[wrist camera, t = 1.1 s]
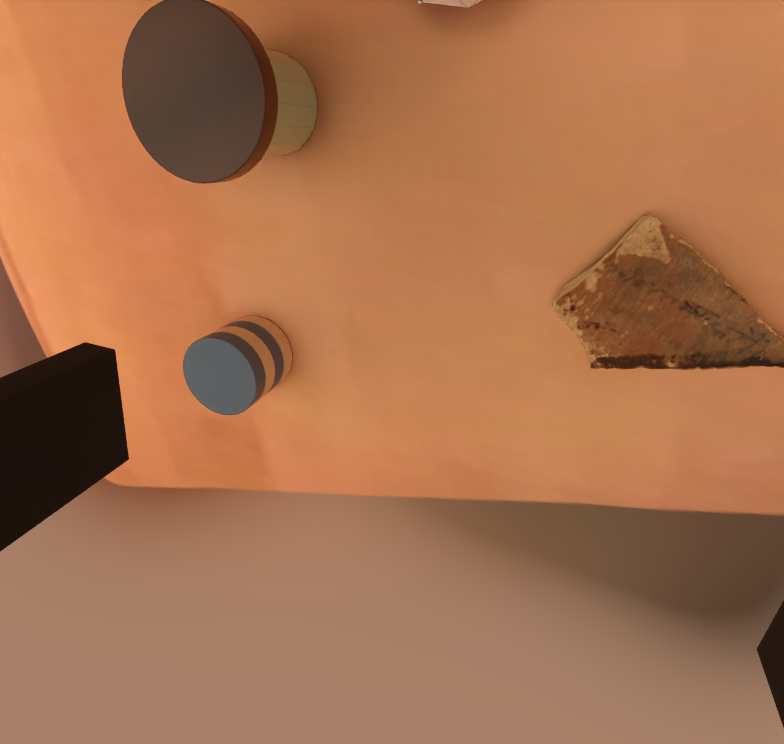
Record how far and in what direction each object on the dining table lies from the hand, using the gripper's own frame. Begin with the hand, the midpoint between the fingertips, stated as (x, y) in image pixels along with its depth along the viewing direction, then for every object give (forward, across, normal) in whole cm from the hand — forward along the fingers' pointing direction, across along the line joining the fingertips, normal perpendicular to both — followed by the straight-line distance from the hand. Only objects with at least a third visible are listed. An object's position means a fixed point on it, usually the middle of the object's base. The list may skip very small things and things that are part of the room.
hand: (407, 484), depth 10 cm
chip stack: (+23, -16, -10) cm, 30 cm away
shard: (+23, +8, 0) cm, 24 cm away
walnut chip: (+16, -15, +6) cm, 23 cm away
